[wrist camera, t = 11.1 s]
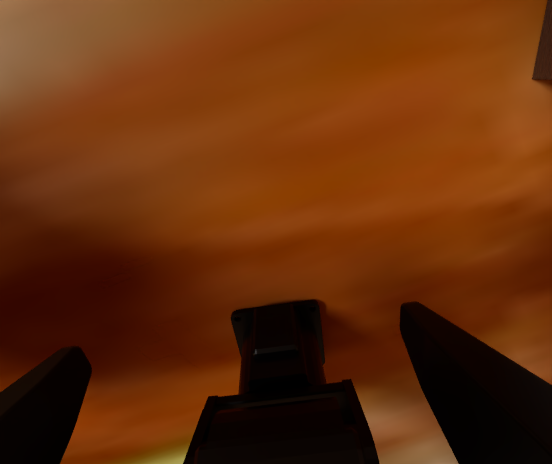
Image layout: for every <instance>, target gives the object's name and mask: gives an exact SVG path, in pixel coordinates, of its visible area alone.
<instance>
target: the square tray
mask: <svg viewBox="0 0 552 464" xmlns="http://www.w3.org/2000/svg"><path fill="white" fill-rule="evenodd" d="M532 79H548V80H552V0H548V2H547V7H546V12H545V17H544V22H543V27H542V32H541V37H540V42H539V47H538V52H537V57H536V62H535V67H534V72H533V77H532Z"/></svg>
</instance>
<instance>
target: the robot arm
mask: <svg viewBox="0 0 552 464" xmlns="http://www.w3.org/2000/svg"><path fill="white" fill-rule="evenodd" d="M311 306H314V308H310V307H311ZM237 316H239V317H240V318H236V317H237ZM231 322H232V325H233V329H234V333H235V336H236V340H237V344H238V348H239V351H240V355H241V370H240V382H239V395H230V396H222V397H218V396H208V399H207V401H206V404H205V407H204V409H203V410H202V413H201V416H200V419H199V421H198V424H197V427H196V430H195V432H194V435H193V438H192V441H191V443H190V446H189V449H188V452H187V454H186V457H185V460H184V463H183V464H379V459H378V455H377V451H376V448H375V444H374V441H373V437H372V434H371V431H370V428H369V426H368V423H367V420H366V418H365V415H364V412H363V410H362V407H361V404H360V402H359V399H358V396H357V394H356V391H355V388H354V386H353V383H352V380H351V379H348V380H342V382H337V383H329V384H326V379H325V374H324V369H323V365H324V363H325V357H324V348H323V338H322V329H321V319H320V310H319V305H318V302H317V301H315V300H308V301H301V302H293V303H286V304H278V305H271V306H264V307H256V308H249V309H241V310H236V311H234V312H232V314H231ZM400 331H401V335H402V338H403V340H404V343H405V346H406V349H407V351H408V354H409V357H410V359H411V362H412V365H413V368H414V370H415V373H416V376H417V378H418V381H419V383H420V386H421V388H422V391H423V393H424V395H425V397H426V399H427V401H428V403H429V405H430V407H431V409H432V411H433V413H434V415H435V417H436V419H437V421H438V423H439V425H440V427H441V429H442V431H443V433H444V435H445V437H446V439H447V441H448V443H449V445H450V447H451V449H452V451H453V453H454V455H455V457H456V459H457V461H458V463H459V464H552V385H551V384H549V383H547V382H546V381H544V380H543V379H541V378H539V377H538V376H536V375H535V374H533V373H531V372H530V371H528V370H527V369H525V368H523V367H522V366H520V365H519V364H517V363H515V362H514V361H512V360H511V359H509V358H507V357H506V356H504V355H503V354H501V353H499V352H498V351H496V350H495V349H493V348H491V347H490V346H488V345H487V344H485V343H483V342H482V341H480V340H478V339H477V338H475V337H474V336H472V335H470V334H469V333H467V332H466V331H464V330H462V329H461V328H459V327H458V326H456V325H454V324H453V323H451V322H450V321H448V320H446V319H445V318H443V317H442V316H440V315H438V314H437V313H435V312H434V311H432V310H430V309H429V308H427V307H426V306H424V305H422V304H421V303H419V302H407V303H403V304H402V305H401V310H400ZM91 372H92V368H91V364H90V363H89V361H88V359H87V357H86V356H85V354H84V352H83V350H82V349H81V348H80V347H79V346H70V347H64V348H61V349H60V350H58V351H57V352H56V353H54V354H53V355H51V356H50V357H49V358H47V359H46V360H45V361H43V362H42V363H40V364H39V365H38V366H36V367H35V368H33V369H32V370H31V371H29V372H28V373H27V374H25V375H24V376H22V377H21V378H20V379H18V380H17V381H16V382H14V383H13V384H11V385H10V386H9V387H7V388H6V389H4V390H3V391H2V392H0V464H60V462H61V460H62V458H63V455H64V453H65V450H66V448H67V446H68V443H69V441H70V438H71V436H72V433H73V430H74V427H75V425H76V422H77V419H78V415H79V412H80V409H81V406H82V403H83V399H84V396H85V393H86V390H87V386H88V383H89V380H90V377H91Z"/></svg>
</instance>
